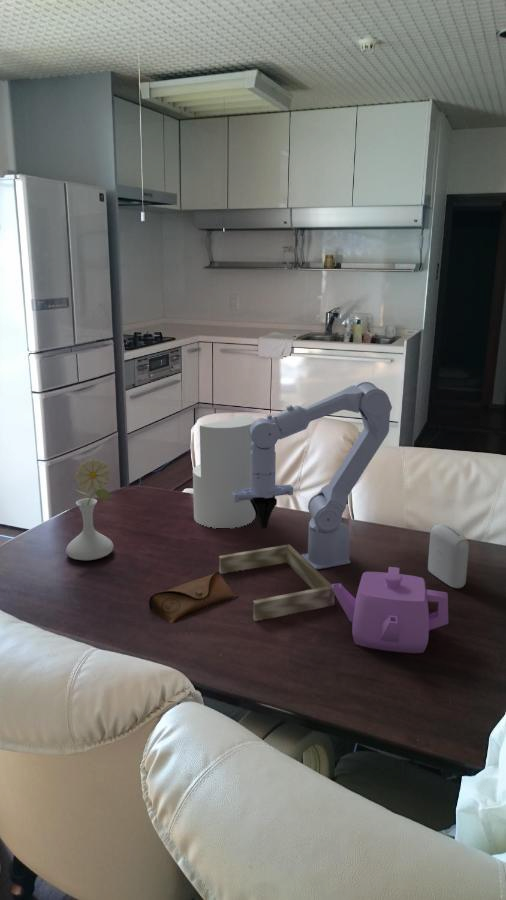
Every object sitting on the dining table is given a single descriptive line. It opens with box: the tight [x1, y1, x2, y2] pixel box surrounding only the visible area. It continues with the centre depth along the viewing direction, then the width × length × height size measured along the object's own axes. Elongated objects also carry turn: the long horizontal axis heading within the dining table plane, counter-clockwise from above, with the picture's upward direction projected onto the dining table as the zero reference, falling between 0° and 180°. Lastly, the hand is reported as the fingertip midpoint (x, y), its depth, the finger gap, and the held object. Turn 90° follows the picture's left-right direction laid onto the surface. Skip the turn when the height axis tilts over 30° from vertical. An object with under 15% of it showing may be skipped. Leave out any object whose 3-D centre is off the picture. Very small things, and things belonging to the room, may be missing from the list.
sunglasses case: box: [148, 571, 239, 624], centre depth 136 cm, size 18×7×7 cm, turn 130°
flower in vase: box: [65, 458, 115, 561], centre depth 154 cm, size 13×11×25 cm
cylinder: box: [192, 414, 256, 529], centre depth 177 cm, size 17×17×28 cm
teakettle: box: [331, 566, 449, 654], centre depth 123 cm, size 17×17×12 cm
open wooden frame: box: [218, 544, 336, 622], centre depth 141 cm, size 18×23×4 cm
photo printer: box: [427, 523, 470, 589], centre depth 144 cm, size 10×4×12 cm, turn 20°
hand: (262, 526), depth 151 cm, fingers closed
